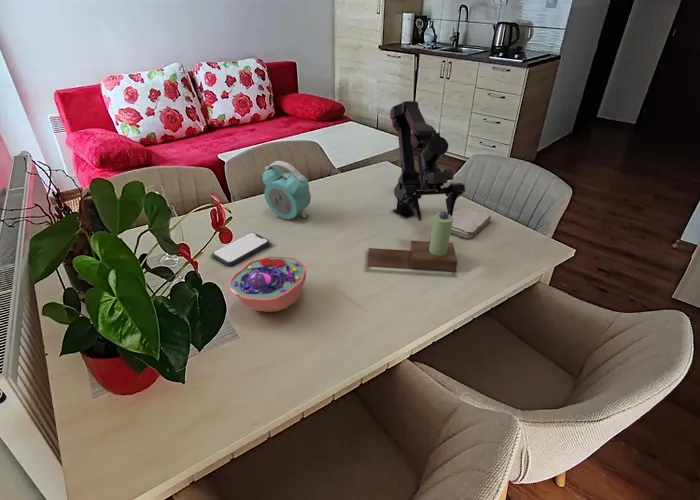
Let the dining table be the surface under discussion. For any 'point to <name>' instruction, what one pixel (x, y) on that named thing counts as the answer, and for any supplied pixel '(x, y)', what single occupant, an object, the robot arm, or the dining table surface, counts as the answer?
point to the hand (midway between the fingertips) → (435, 219)
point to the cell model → (269, 283)
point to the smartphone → (240, 249)
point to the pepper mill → (440, 233)
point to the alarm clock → (286, 191)
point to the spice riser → (413, 258)
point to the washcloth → (468, 222)
